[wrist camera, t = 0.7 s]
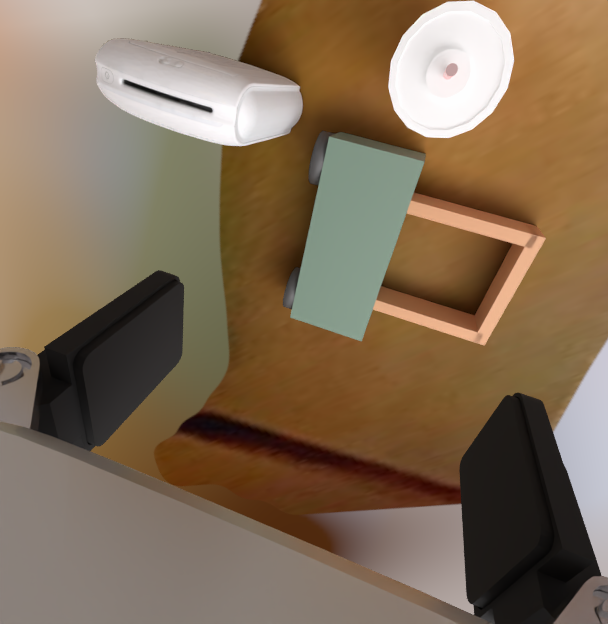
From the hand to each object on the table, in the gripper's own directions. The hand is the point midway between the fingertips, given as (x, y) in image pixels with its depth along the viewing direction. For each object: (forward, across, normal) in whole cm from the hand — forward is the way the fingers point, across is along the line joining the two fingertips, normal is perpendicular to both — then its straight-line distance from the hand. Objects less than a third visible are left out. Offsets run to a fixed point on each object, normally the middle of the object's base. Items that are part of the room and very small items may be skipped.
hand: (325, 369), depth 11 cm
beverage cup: (+26, -1, -8) cm, 27 cm away
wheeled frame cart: (+25, -2, +5) cm, 26 cm away
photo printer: (+26, +14, -3) cm, 29 cm away
